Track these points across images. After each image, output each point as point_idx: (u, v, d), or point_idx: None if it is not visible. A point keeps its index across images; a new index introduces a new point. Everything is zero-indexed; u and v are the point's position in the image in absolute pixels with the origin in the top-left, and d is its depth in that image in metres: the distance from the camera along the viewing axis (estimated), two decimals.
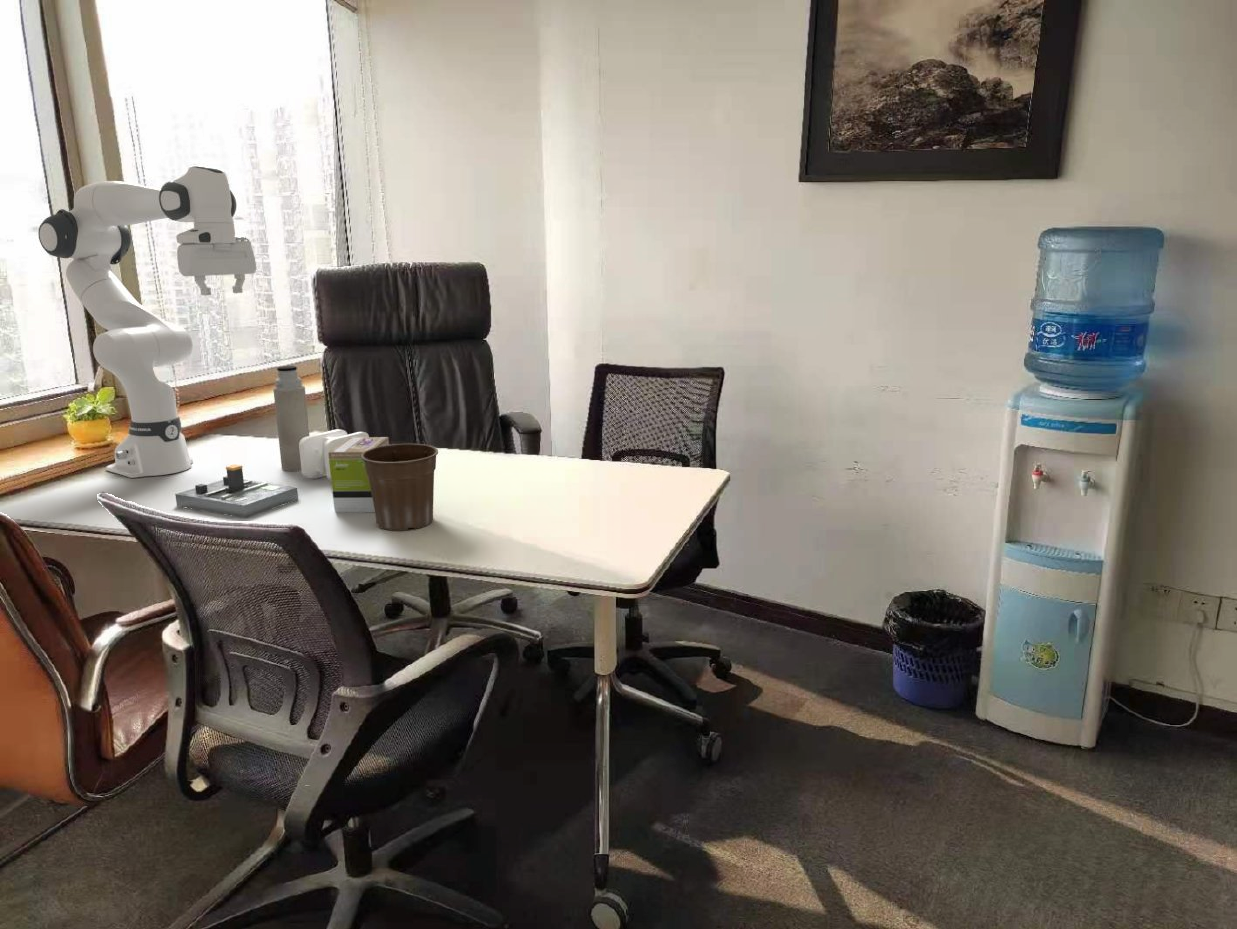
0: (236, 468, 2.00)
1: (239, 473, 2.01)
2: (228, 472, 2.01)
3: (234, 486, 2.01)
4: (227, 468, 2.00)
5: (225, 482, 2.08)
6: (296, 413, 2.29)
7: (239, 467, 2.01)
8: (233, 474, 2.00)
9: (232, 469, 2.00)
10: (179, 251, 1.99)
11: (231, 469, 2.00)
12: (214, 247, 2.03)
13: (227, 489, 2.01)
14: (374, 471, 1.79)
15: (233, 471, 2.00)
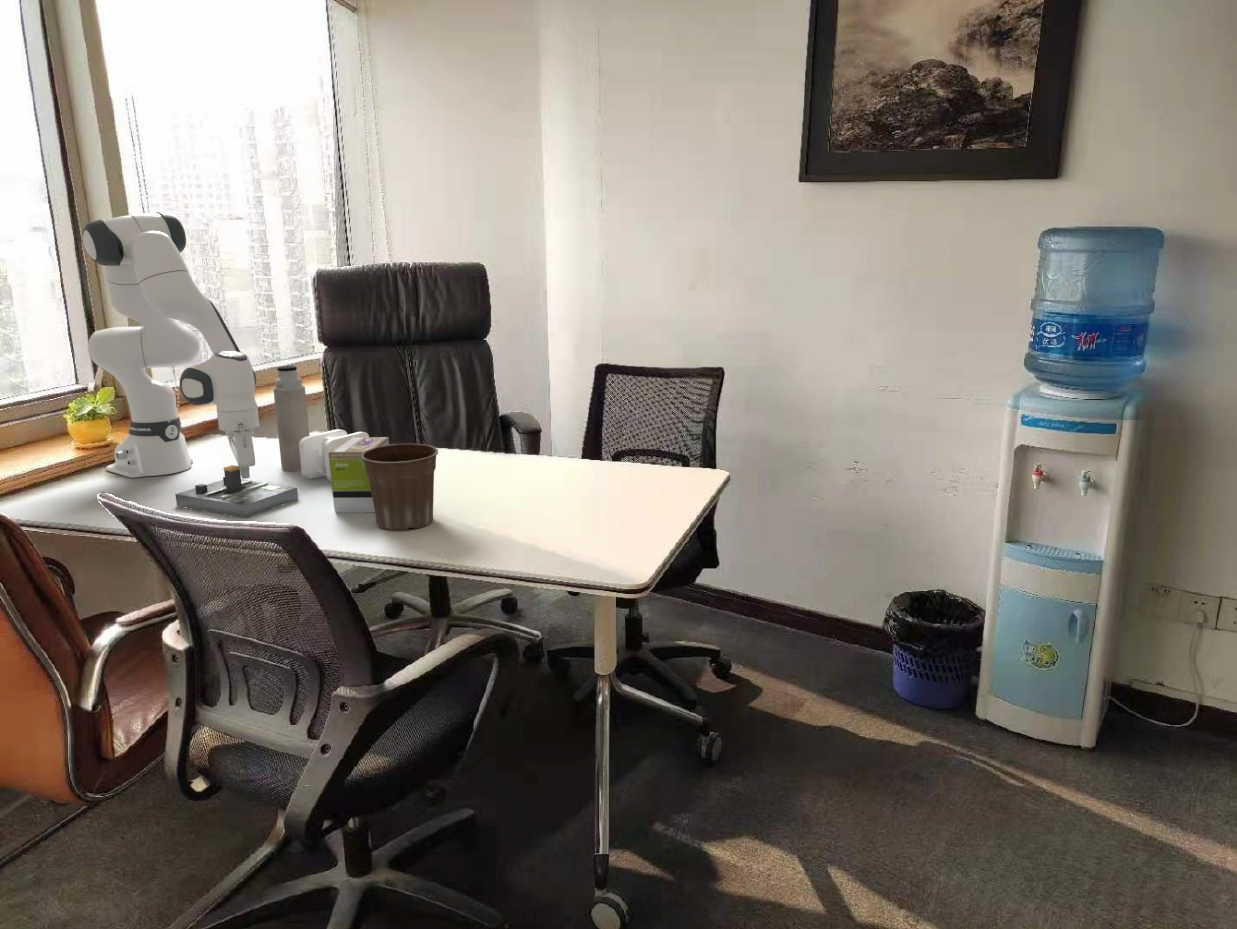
0: (234, 469, 2.00)
1: (236, 474, 2.01)
2: (226, 473, 2.00)
3: (232, 487, 2.00)
4: (225, 469, 2.00)
5: (225, 482, 2.08)
6: (296, 413, 2.29)
7: (237, 468, 2.01)
8: (231, 475, 2.00)
9: (230, 470, 1.99)
10: None
11: (229, 470, 1.99)
12: None
13: (225, 490, 2.00)
14: (374, 471, 1.79)
15: (231, 472, 1.99)
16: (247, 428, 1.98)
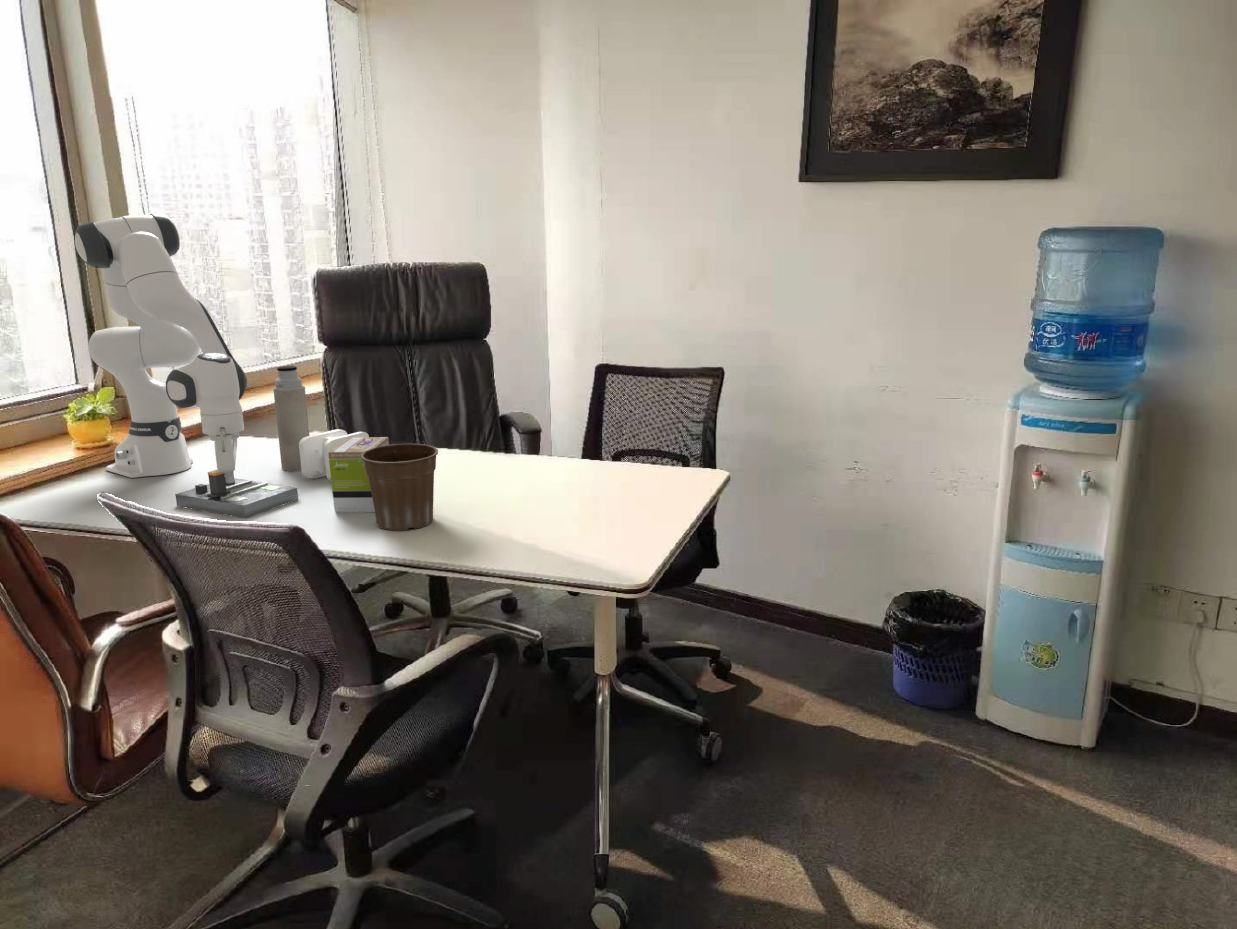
0: (218, 473, 1.96)
1: (221, 478, 1.97)
2: (210, 477, 1.96)
3: (216, 492, 1.96)
4: (209, 473, 1.96)
5: None
6: (296, 413, 2.29)
7: (221, 472, 1.97)
8: (215, 479, 1.96)
9: (214, 474, 1.95)
10: None
11: (213, 474, 1.95)
12: None
13: (209, 495, 1.97)
14: (374, 471, 1.79)
15: (215, 477, 1.95)
16: (229, 432, 1.94)
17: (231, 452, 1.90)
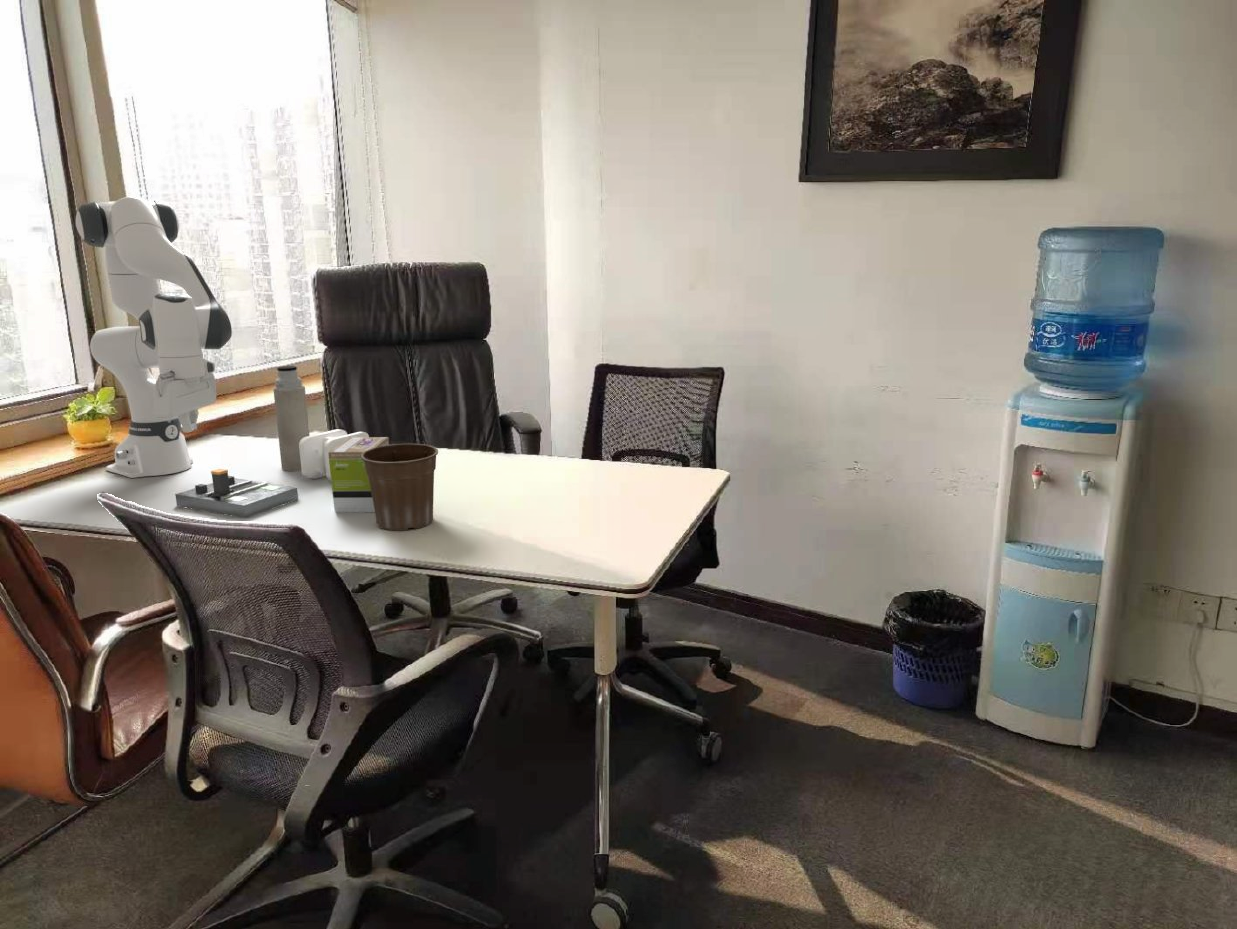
0: (221, 472, 1.97)
1: (224, 477, 1.98)
2: (213, 476, 1.97)
3: (219, 491, 1.97)
4: (212, 472, 1.97)
5: None
6: (296, 413, 2.29)
7: (224, 471, 1.97)
8: (218, 478, 1.96)
9: (217, 473, 1.96)
10: None
11: (216, 473, 1.96)
12: None
13: (212, 494, 1.97)
14: (374, 471, 1.79)
15: (218, 476, 1.96)
16: (179, 377, 1.82)
17: (168, 397, 1.77)
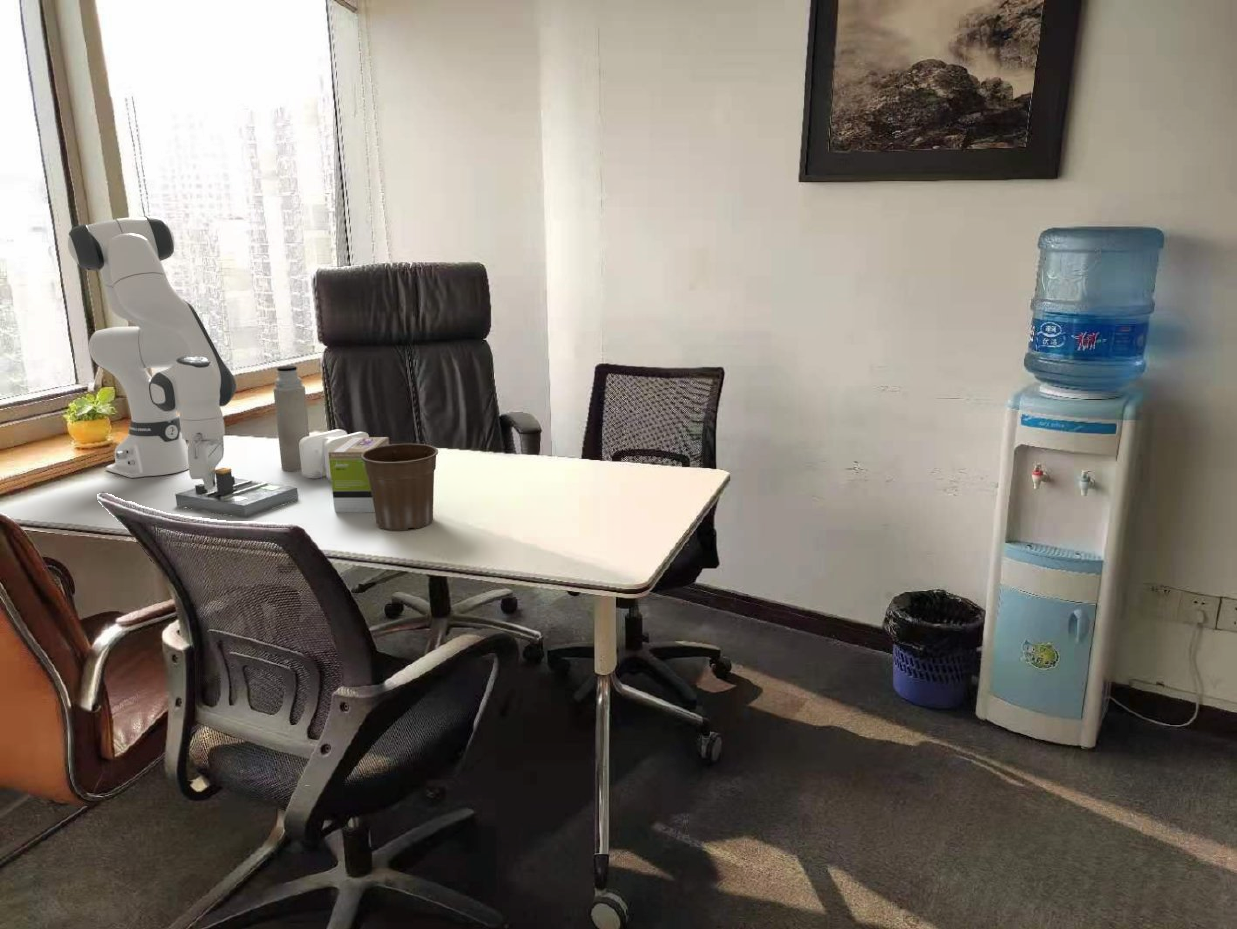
0: (225, 471, 1.98)
1: (228, 476, 1.98)
2: (217, 475, 1.98)
3: (223, 489, 1.98)
4: (216, 471, 1.98)
5: None
6: (296, 413, 2.29)
7: (228, 470, 1.98)
8: (222, 477, 1.97)
9: (221, 472, 1.97)
10: None
11: (220, 472, 1.97)
12: None
13: (216, 492, 1.98)
14: (374, 471, 1.79)
15: (222, 475, 1.97)
16: (206, 438, 1.89)
17: (204, 459, 1.85)
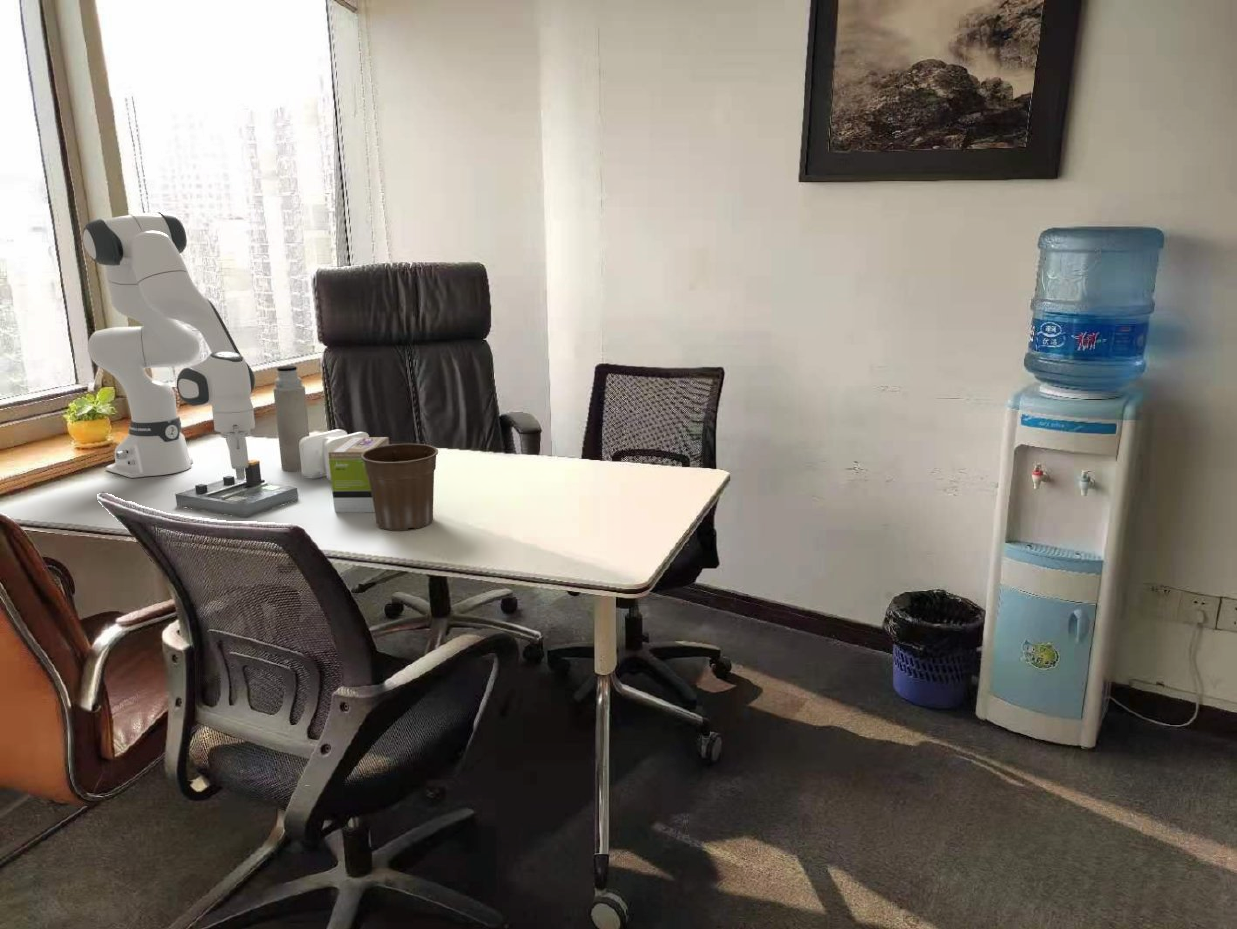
0: (254, 463, 2.05)
1: (256, 468, 2.06)
2: None
3: (252, 481, 2.06)
4: None
5: (225, 482, 2.08)
6: (296, 413, 2.29)
7: (256, 462, 2.06)
8: (251, 469, 2.05)
9: (250, 464, 2.04)
10: None
11: (249, 464, 2.05)
12: None
13: (245, 483, 2.06)
14: (374, 471, 1.79)
15: (251, 466, 2.05)
16: (242, 429, 1.97)
17: (245, 449, 1.94)
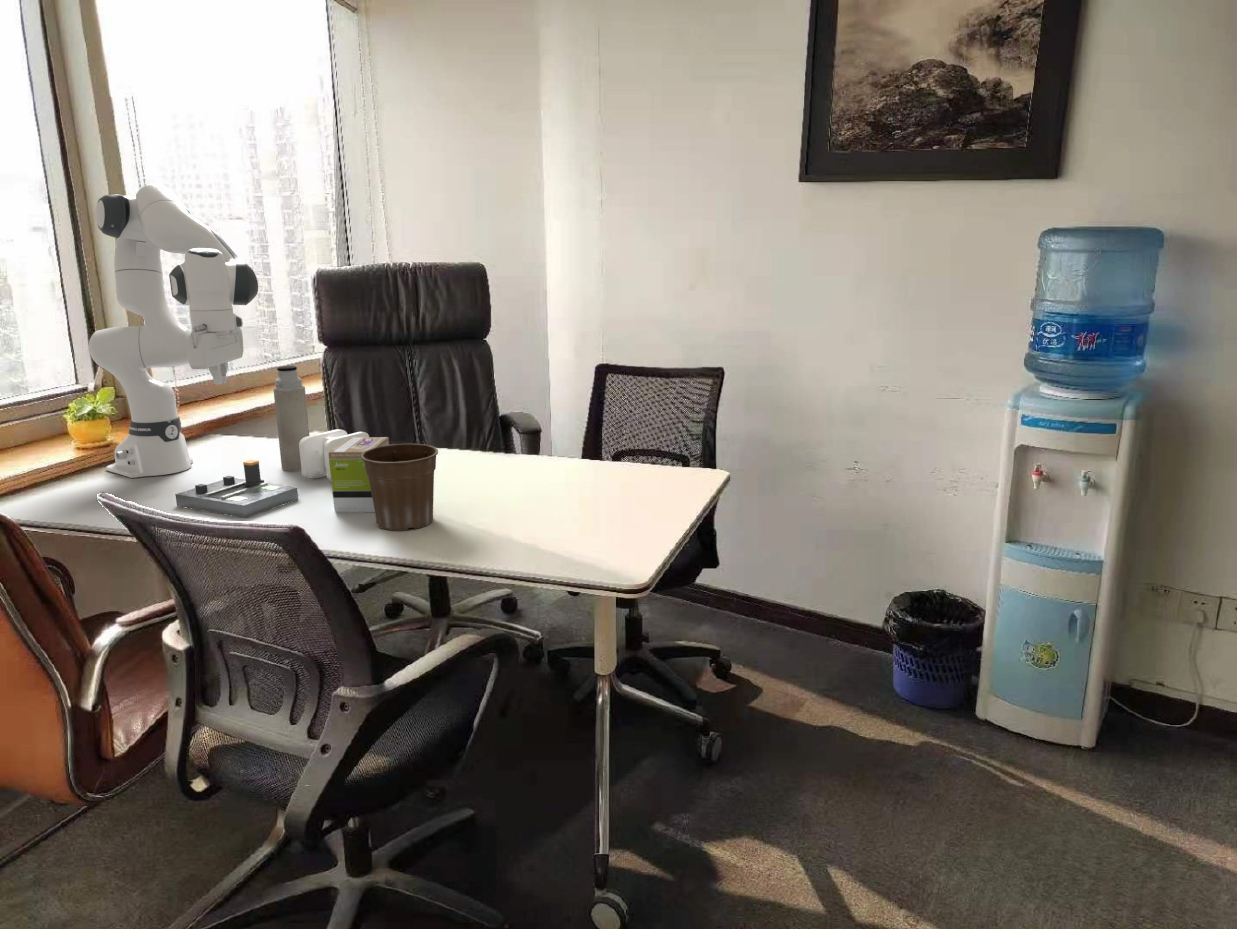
0: (253, 463, 2.05)
1: (255, 468, 2.06)
2: (245, 467, 2.05)
3: (251, 481, 2.05)
4: (244, 463, 2.05)
5: (225, 482, 2.08)
6: (296, 413, 2.29)
7: (256, 462, 2.06)
8: (250, 469, 2.05)
9: (249, 464, 2.04)
10: None
11: (248, 464, 2.04)
12: None
13: (244, 484, 2.05)
14: (374, 471, 1.79)
15: (250, 466, 2.04)
16: (211, 330, 1.88)
17: (202, 349, 1.84)
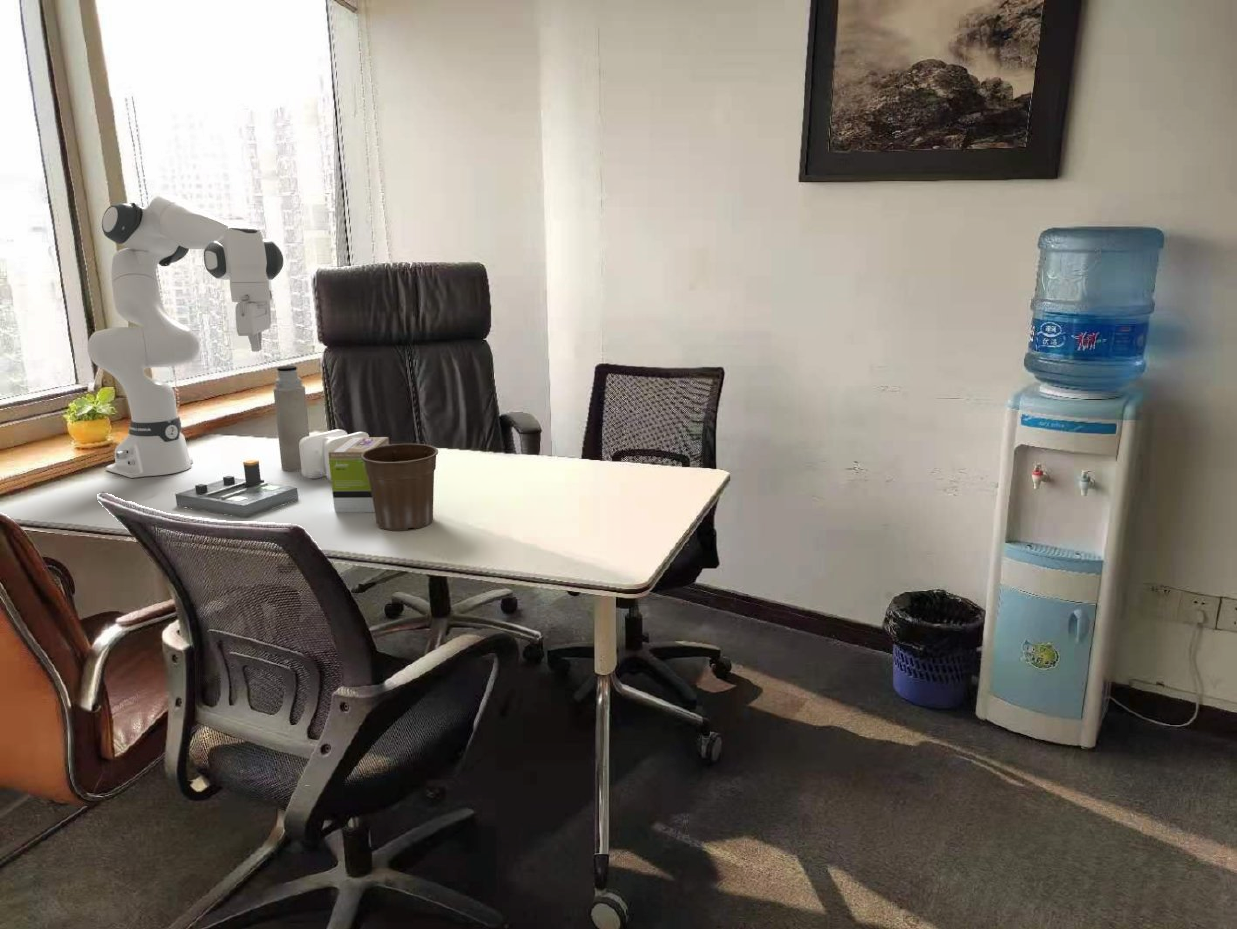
0: (253, 463, 2.05)
1: (255, 468, 2.06)
2: (245, 467, 2.05)
3: (251, 481, 2.05)
4: (244, 463, 2.05)
5: (225, 482, 2.08)
6: (296, 413, 2.29)
7: (256, 462, 2.06)
8: (250, 469, 2.05)
9: (249, 464, 2.04)
10: None
11: (248, 464, 2.04)
12: None
13: (244, 484, 2.05)
14: (374, 471, 1.79)
15: (250, 466, 2.04)
16: (253, 300, 2.04)
17: (249, 317, 2.00)
